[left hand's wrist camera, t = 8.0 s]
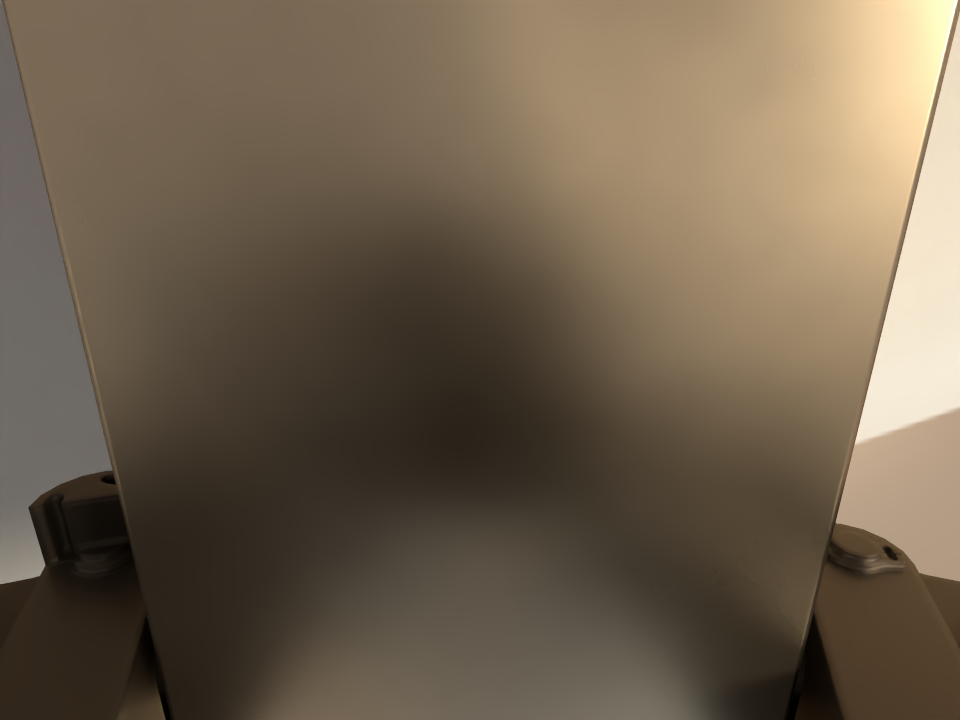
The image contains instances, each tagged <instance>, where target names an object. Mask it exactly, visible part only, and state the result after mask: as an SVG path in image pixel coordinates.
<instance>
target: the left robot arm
mask: <svg viewBox="0 0 960 720" xmlns="http://www.w3.org/2000/svg"><path fill="white" fill-rule="evenodd" d="M29 511H30V515H31V518H32V521H33V524H34V528H35V531H36V534H37V538H38V541H39V544H40V548H41V551H42V554H43V558H44V561H45V564H46V566H45V568H44V570H43V571H42V573H41V575H40V576H39V577H35V578H31V579H26V580H21V581H16V582H11V583H6V584H1V585H0V720H171V716H170V712H169V708H168V704H167V699H166V695H165V691H164V687H163V682H162V678H161V674H160V670H159V665H158V661H157V657H156V653H155V648H154V644H153V640H152V635H151V631H150V627H149V623H148V618H147V614H146V610H145V606H144V601H143V597H142V593H141V589H140V584H139V580H138V576H137V572H136V567H135V563H134V559H133V555H132V550H131V546H130V542H129V538H128V533H127V529H126V525H125V520H124V516H123V512H122V508H121V503H120V499H119V495H118V491H117V486H116V482H115V478H114V474H113V471H104V472H100V473H95V474H90V475H86V476H82V477H79V478H76V479H74V480H71V481H68V482H66V483H63V484H60V485H58V486H57V487H55V488H53V489H51V490H50V491H48V492H46V493H44V494H43V495H41V496H40V497H39V498H38V499H37V500H36V501H35V502H34V503H33V504H32V505H31V506H30V507H29ZM787 720H960V582H959V581H954V580H949V579H944V578H939V577H934V576H928V575H924V574H921V573H919V572H918V570H917V569H916V567H915V565H914V564H913V562H912V561H911V560H910V559H909V558H908V557H907V555H906V554H905V553H904V552H903V551H902V550H900V549H899V548H897V547H896V546H895V545H893V544H892V543H890V542H889V541H887V540H886V539H884V538H882V537H879V536H877V535H875V534H872V533H870V532H868V531H865V530H863V529H859V528H855V527H851V526H847V525H843V524H836V523H835V526H834V530H833V534H832V538H831V542H830V547H829V551H828V555H827V559H826V563H825V567H824V571H823V575H822V579H821V584H820V588H819V592H818V596H817V600H816V604H815V608H814V612H813V616H812V621H811V625H810V629H809V633H808V637H807V641H806V645H805V649H804V653H803V658H802V662H801V666H800V670H799V674H798V678H797V682H796V686H795V690H794V695H793V699H792V703H791V707H790V711H789V715H788V719H787Z"/></svg>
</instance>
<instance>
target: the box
mask: <svg viewBox="0 0 960 720" xmlns="http://www.w3.org/2000/svg"><path fill="white" fill-rule="evenodd" d="M2 1H3V5H4V9H5V14H6V18H7V22H8V26H9V31H10V35H11V39H12V43H13V48H14V52H15V56H16V60H17V65H18V69H19V73H20V77H21V82H22V86H23V90H24V95H25V99H26V103H27V107H28V112H29V116H30V120H31V124H32V129H33V133H34V137H35V141H36V146H37V150H38V154H39V158H40V163H41V167H42V171H43V175H44V180H45V184H46V188H47V192H48V197H49V201H50V205H51V210H52V214H53V218H54V222H55V227H56V231H57V235H58V239H59V244H60V248H61V252H62V256H63V261H64V265H65V269H66V273H67V278H68V282H69V286H70V290H71V295H72V299H73V303H74V307H75V312H76V316H77V320H78V325H79V329H80V333H81V337H82V342H83V346H84V350H85V354H86V359H87V363H88V367H89V371H90V376H91V380H92V384H93V388H94V393H95V397H96V401H97V405H98V410H99V414H100V418H101V423H102V427H103V431H104V435H105V440H106V444H107V448H108V452H109V457H110V461H111V465H112V469H113V474H114V478H115V482H116V486H117V491H118V495H119V499H120V503H121V508H122V512H123V516H124V520H125V525H126V529H127V533H128V538H129V542H130V546H131V550H132V555H133V559H134V563H135V567H136V572H137V576H138V580H139V584H140V589H141V593H142V597H143V601H144V606H145V610H146V614H147V618H148V623H149V627H150V631H151V635H152V640H153V644H154V648H155V653H156V657H157V661H158V665H159V670H160V674H161V678H162V682H163V687H164V691H165V695H166V699H167V704H168V708H169V712H170V716H171V720H787V719H788V715H789V711H790V707H791V703H792V699H793V695H794V690H795V686H796V682H797V678H798V674H799V670H800V666H801V662H802V658H803V653H804V649H805V645H806V641H807V637H808V633H809V629H810V625H811V621H812V616H813V612H814V608H815V604H816V600H817V596H818V592H819V588H820V584H821V579H822V575H823V571H824V567H825V563H826V559H827V555H828V551H829V547H830V542H831V538H832V534H833V530H834V526H835V522H836V518H837V513H838V510H839V505H840V501H841V497H842V493H843V489H844V485H845V481H846V477H847V473H848V468H849V464H850V460H851V456H852V452H853V448H854V444H855V440H856V436H857V431H858V427H859V423H860V419H861V415H862V411H863V407H864V403H865V399H866V394H867V390H868V386H869V382H870V378H871V374H872V370H873V366H874V362H875V357H876V353H877V349H878V345H879V341H880V337H881V333H882V329H883V325H884V320H885V316H886V312H887V308H888V304H889V300H890V296H891V292H892V288H893V283H894V279H895V275H896V271H897V267H898V263H899V259H900V255H901V251H902V246H903V242H904V238H905V234H906V230H907V226H908V222H909V218H910V214H911V209H912V205H913V201H914V197H915V193H916V189H917V185H918V181H919V177H920V172H921V168H922V164H923V160H924V156H925V152H926V148H927V144H928V140H929V135H930V131H931V127H932V123H933V119H934V115H935V111H936V107H937V103H938V98H939V94H940V90H941V86H942V82H943V78H944V74H945V70H946V66H947V61H948V57H949V53H950V49H951V45H952V41H953V37H954V33H955V29H956V24H957V20H958V16H959V12H960V0H2Z"/></svg>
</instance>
